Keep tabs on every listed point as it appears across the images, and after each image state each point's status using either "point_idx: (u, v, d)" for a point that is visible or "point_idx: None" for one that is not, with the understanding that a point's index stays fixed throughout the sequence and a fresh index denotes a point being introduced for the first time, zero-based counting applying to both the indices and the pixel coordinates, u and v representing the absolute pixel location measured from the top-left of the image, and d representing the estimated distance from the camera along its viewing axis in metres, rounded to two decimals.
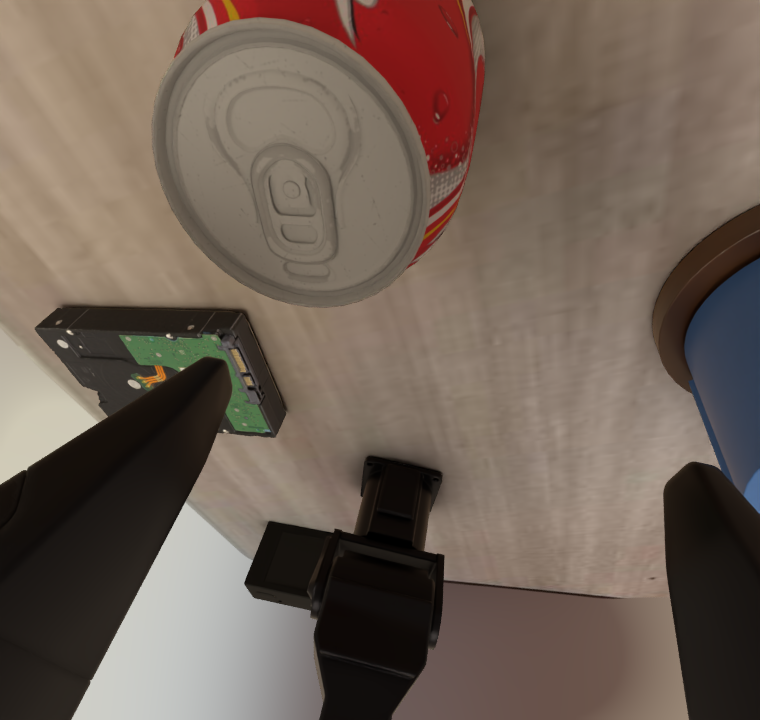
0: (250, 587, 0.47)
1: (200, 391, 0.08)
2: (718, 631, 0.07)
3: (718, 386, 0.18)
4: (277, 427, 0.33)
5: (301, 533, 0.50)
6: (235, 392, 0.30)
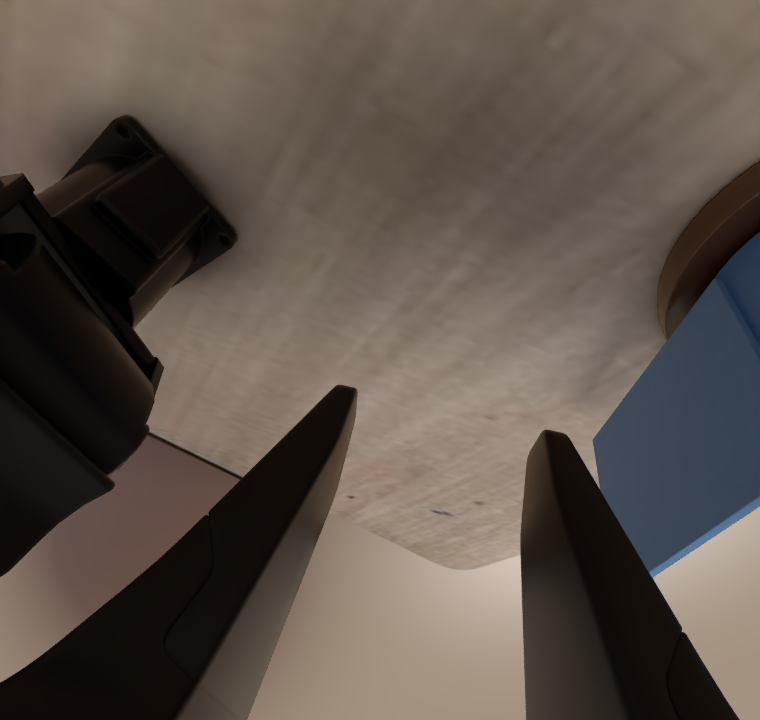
0: None
1: (345, 423, 0.08)
2: (548, 589, 0.07)
3: None
4: None
5: None
6: None
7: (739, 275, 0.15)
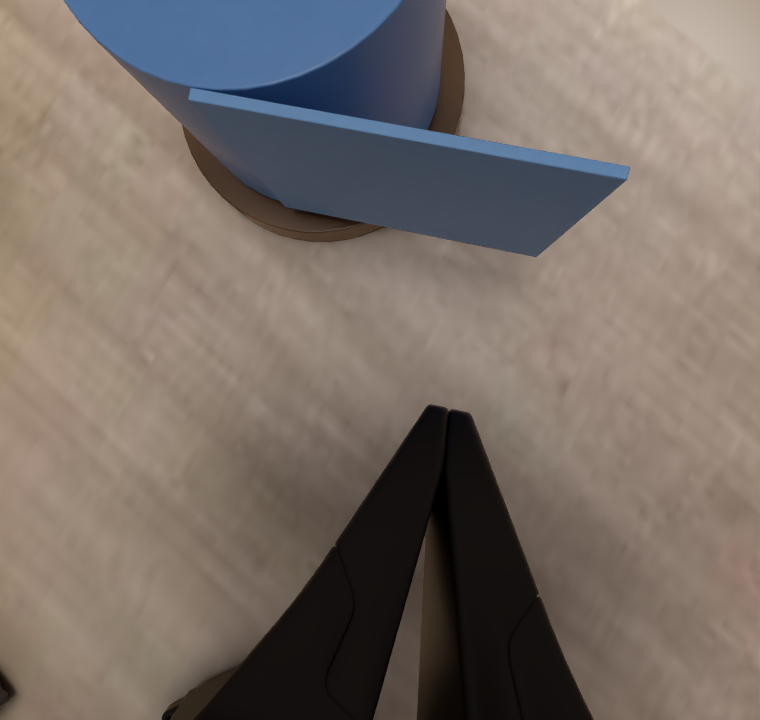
0: None
1: (445, 446, 0.08)
2: None
3: None
4: None
5: None
6: None
7: (268, 191, 0.17)
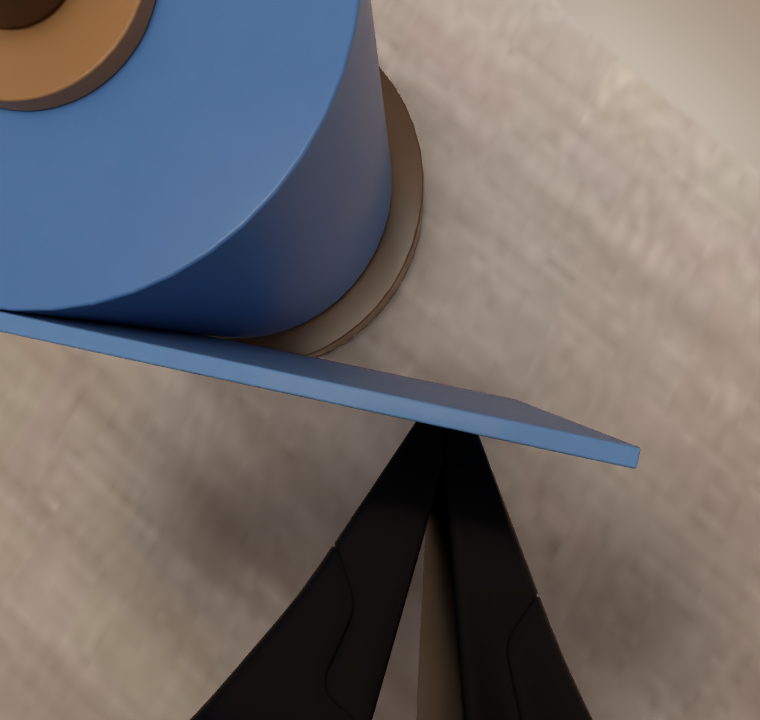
0: None
1: (445, 446, 0.08)
2: None
3: None
4: None
5: None
6: None
7: None
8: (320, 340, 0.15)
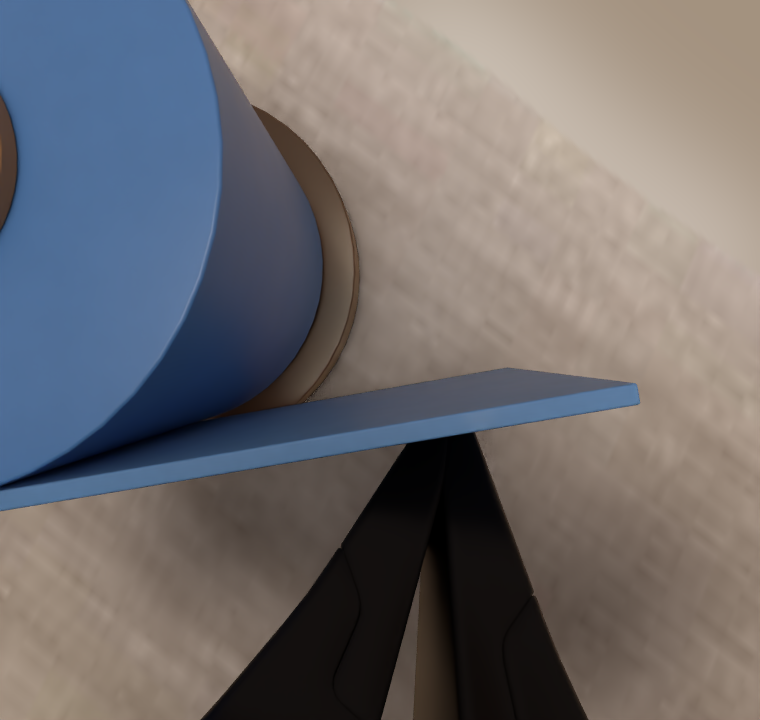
0: None
1: (450, 447, 0.08)
2: None
3: None
4: None
5: None
6: None
7: None
8: None
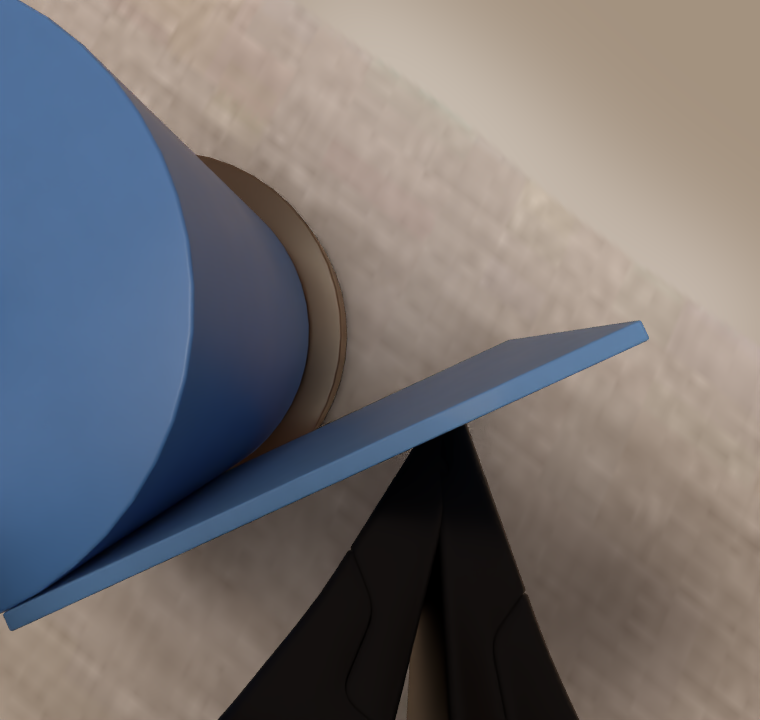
0: None
1: (458, 449, 0.08)
2: None
3: None
4: None
5: None
6: None
7: None
8: None
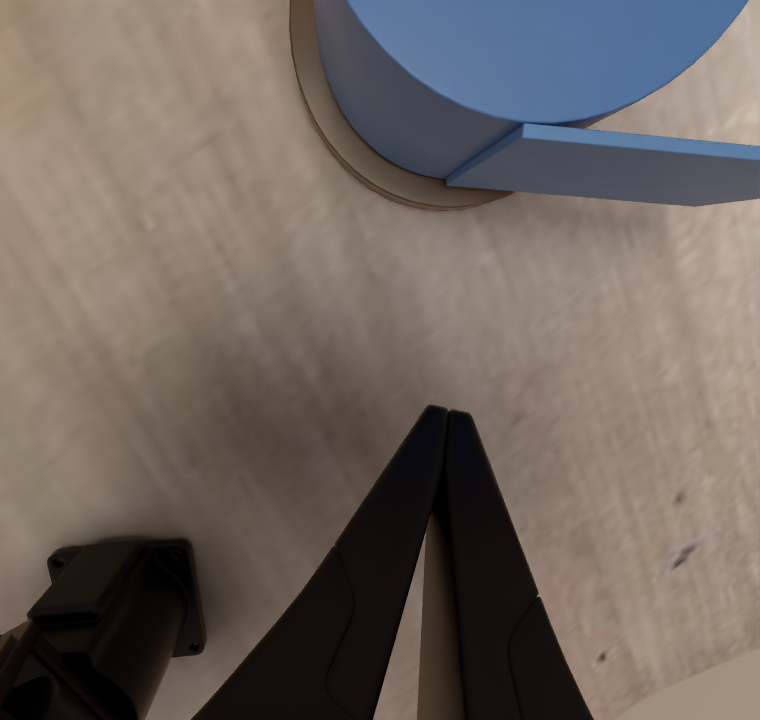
0: None
1: (445, 446, 0.08)
2: None
3: (370, 107, 0.13)
4: None
5: None
6: None
7: (435, 172, 0.16)
8: (453, 199, 0.18)
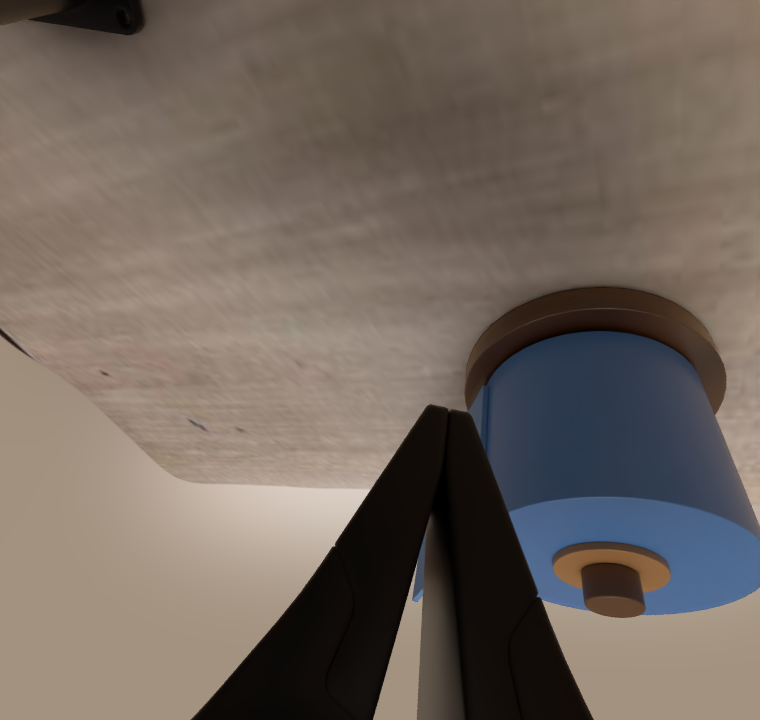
0: None
1: (445, 446, 0.08)
2: None
3: (542, 410, 0.18)
4: None
5: None
6: None
7: (493, 387, 0.22)
8: (473, 377, 0.23)
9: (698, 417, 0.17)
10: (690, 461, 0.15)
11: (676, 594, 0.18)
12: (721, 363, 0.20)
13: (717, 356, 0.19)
